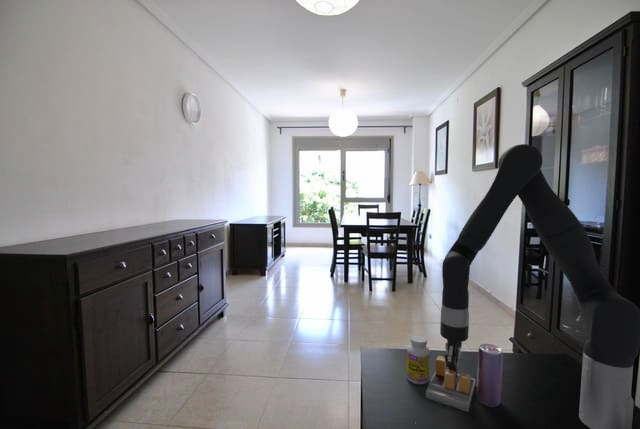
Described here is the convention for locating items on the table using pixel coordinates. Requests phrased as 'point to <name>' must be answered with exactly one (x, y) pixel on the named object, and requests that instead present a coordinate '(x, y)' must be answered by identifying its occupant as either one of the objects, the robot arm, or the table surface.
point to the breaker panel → (449, 393)
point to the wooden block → (440, 366)
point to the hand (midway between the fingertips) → (452, 377)
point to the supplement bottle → (418, 360)
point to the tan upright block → (464, 383)
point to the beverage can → (489, 375)
